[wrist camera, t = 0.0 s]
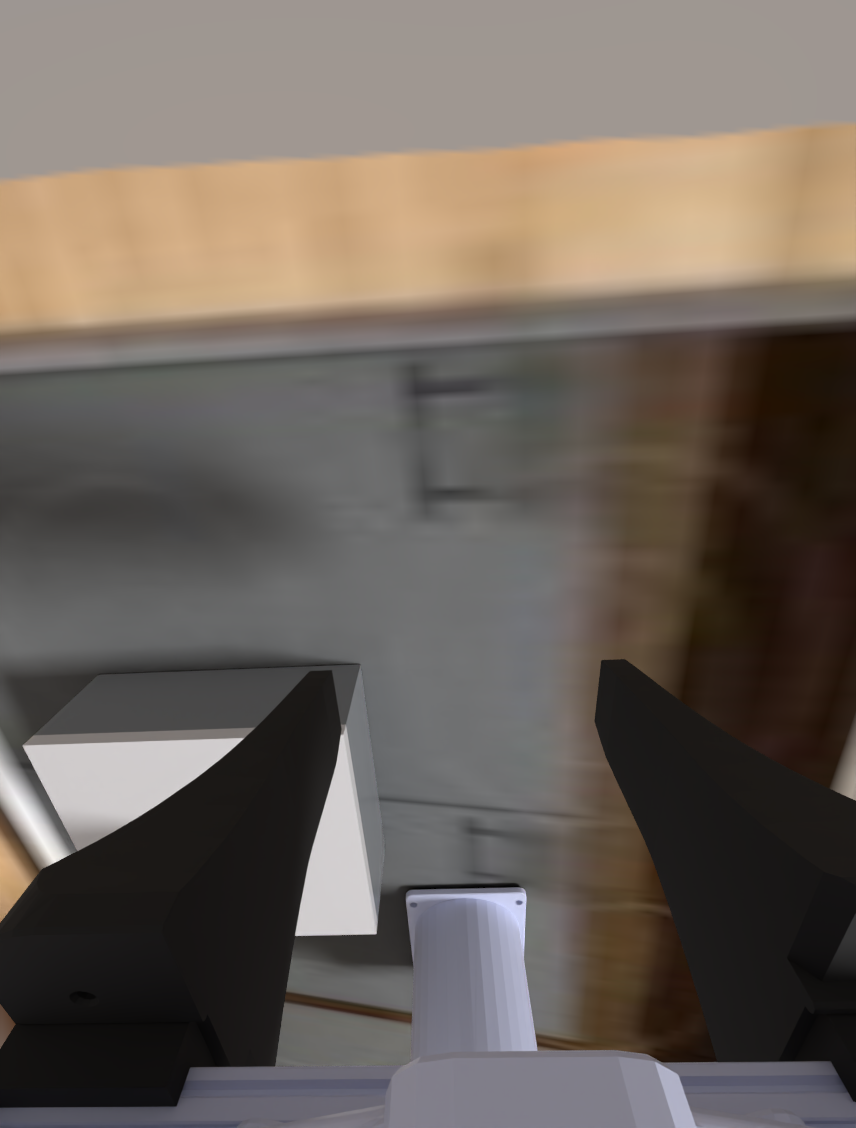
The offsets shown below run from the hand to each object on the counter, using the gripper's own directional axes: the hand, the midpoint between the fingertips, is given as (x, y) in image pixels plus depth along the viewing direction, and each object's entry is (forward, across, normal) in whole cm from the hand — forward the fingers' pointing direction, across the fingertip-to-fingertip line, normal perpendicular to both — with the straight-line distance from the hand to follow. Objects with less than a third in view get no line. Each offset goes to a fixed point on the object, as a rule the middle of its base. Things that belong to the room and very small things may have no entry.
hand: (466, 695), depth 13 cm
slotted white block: (+10, +12, +13) cm, 20 cm away
